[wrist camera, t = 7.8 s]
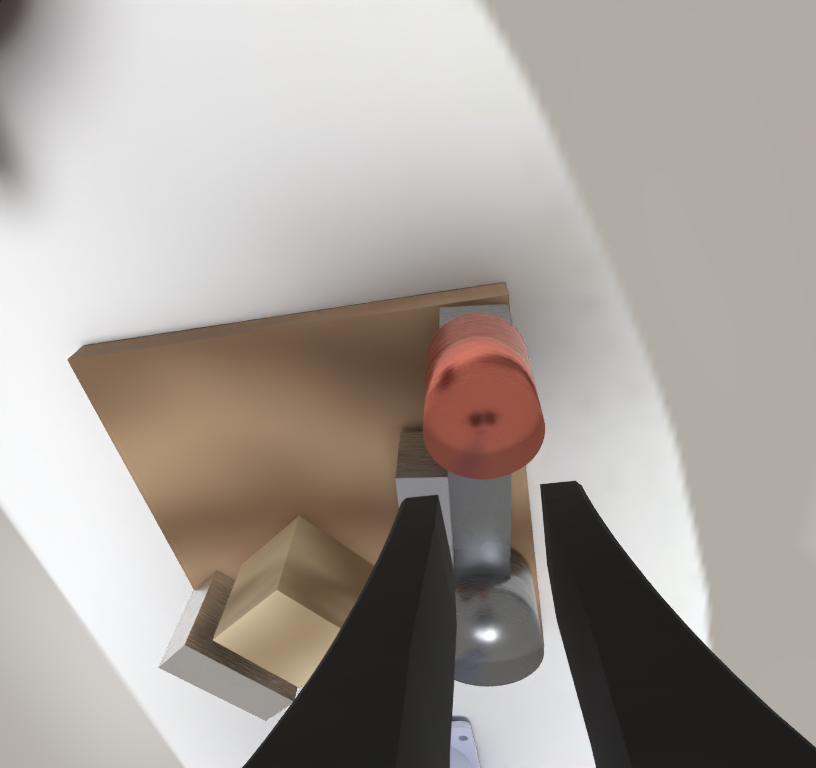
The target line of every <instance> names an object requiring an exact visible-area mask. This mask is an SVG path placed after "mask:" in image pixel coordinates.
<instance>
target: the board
mask: <svg viewBox="0 0 816 768" xmlns="http://www.w3.org/2000/svg"><path fill="white" fill-rule="evenodd" d="M494 304H508V307H509V298H508V292H507V288H506V284H505V282H504V283H498V284H491V285H484V286H478V287H471V288H464V289H458V290H451V291H444V292H438V293H431V294H424V295H418V296H411V297H404V298H398V299H391V300H384V301H378V302H371V303H364V304H358V305H351V306H344V307H338V308H331V309H325V310H318V311H311V312H305V313H298V314H291V315H285V316H278V317H271V318H265V319H258V320H251V321H245V322H238V323H231V324H225V325H218V326H211V327H205V328H198V329H191V330H185V331H178V332H172V333H165V334H158V335H152V336H145V337H138V338H132V339H125V340H118V341H112V342H105V343H98V344H92V345H85V346H83V347H81V348H80V349H79V350H78V351H77V352H76V353H74V354H73V355H72V356H71V357H70V358H69V359H68V362H69V364H70V365H71V367H72V369H73V371H74V373H75V374H76V376H77V378H78V380H79V382H80V383H81V385H82V387H83V389H84V391H85V393H86V394H87V396H88V398H89V400H90V402H91V403H92V405H93V407H94V409H95V411H96V412H97V414H98V416H99V418H100V420H101V422H102V423H103V425H104V427H105V429H106V431H107V432H108V434H109V436H110V438H111V440H112V442H113V443H114V445H115V447H116V449H117V451H118V452H119V454H120V456H121V458H122V460H123V461H124V463H125V465H126V467H127V469H128V471H129V472H130V474H131V476H132V478H133V480H134V481H135V483H136V485H137V487H138V489H139V490H140V492H141V494H142V496H143V498H144V500H145V501H146V503H147V505H148V507H149V509H150V510H151V512H152V514H153V516H154V518H155V520H156V521H157V523H158V525H159V527H160V529H161V530H162V532H163V534H164V536H165V538H166V539H167V541H168V543H169V545H170V547H171V549H172V550H173V552H174V554H175V556H176V558H177V559H178V561H179V563H180V565H181V567H182V568H183V570H184V572H185V574H186V576H187V578H188V579H189V581H190V583H191V585H192V587H193V588H194V590H195V589H196V588H197V587H199V586H200V585H201V584H202V583H203V582H204V581H205V580H206V579H207V578H208V577H209V576H210V575H212V574H213V573H214V572H215V571H216V570H218V571H220V572H221V573H223V574H225V575H227V576H228V577H230V578H232V579H234V580H236V578H237V575H238V572H239V570H240V567H241V565H242V564H243V563H244V562H245V561H246V560H248V559H249V558H250V557H251V556H252V555H253V554H255V553H256V552H257V551H258V550H259V549H261V548H262V547H263V546H264V545H265V544H266V543H268V542H269V541H270V540H271V539H272V538H273V537H275V536H276V535H277V534H278V533H279V532H281V531H282V530H283V529H284V528H285V527H286V526H288V525H289V524H290V523H291V522H292V521H293V520H295V519H296V518H297V517H298V516H301V517H302V518H304V519H305V520H307V521H308V522H310V523H311V524H313V525H314V526H316V527H317V528H319V529H320V530H322V531H323V532H325V533H326V534H328V535H329V536H331V537H332V538H334V539H335V540H337V541H338V542H340V543H341V544H343V545H344V546H346V547H347V548H349V549H350V550H352V551H353V552H355V553H356V554H358V555H359V556H361V557H362V558H364V559H365V560H366V561H368V562H369V563H371V564H372V565H374V566H375V564H376V562H377V560H378V557H379V555H380V553H381V551H382V549H383V546H384V544H385V542H386V540H387V538H388V535H389V533H390V531H391V528H392V526H393V523H394V521H395V518H396V516H397V513H398V510H399V505H398V497H397V489H396V481H395V476H396V467H397V458H398V449H399V441H400V432H417V431H423V420H424V403H425V386H426V370H427V354H428V348H429V345H430V342H431V340H432V338H433V336H434V335H435V333H436V332H437V331H438V330H439V320H440V308H441V307H459V306H477V305H494ZM509 312H510V308H509ZM453 550H454V547H453ZM511 552H513V553H515V554H516V555H518V556H519V557H521V558H522V559H523V560H524V561H525V562H526V563H527V565H528V566H529V568H530V570H531V573H532V578H533V585H534V591H535V597H536V604H537V610H538V616H539V623H540V629H541V635H542V642H543V647H544V640H543V631H542V621H541V611H540V601H539V591H538V582H537V572H536V562H535V552H534V543H533V533H532V523H531V513H530V504H529V494H528V484H527V474H526V465H525V466H524V467H522V468H521V469H519V470H518V471H516V472H514V473H511Z"/></svg>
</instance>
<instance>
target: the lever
mask: <svg viewBox="0 0 816 768" xmlns="http://www.w3.org/2000/svg"><path fill="white" fill-rule="evenodd" d="M544 434H545V423H544V418H543V414H542V410H541V406H540V402H539V398H538V394H537V390H536V386H535V382H534V378H533V374H532V370H531V366H530V362H529V358H528V354H527V350H526V346H525V343H524V340H523V338H522V336H521V334H520V333H519V332H518V330H517V329H516V328H515V327H514V326H513V325H512V321H511V316H510V312H509V307H508V304H494V305H477V306H459V307H441V308H440V320H439V330H438V331H437V332H436V333H435V335H434V336H433V338H432V340H431V342H430V345H429V348H428V354H427V370H426V386H425V403H424V420H423V431H417V432H400V441H399V449H398V458H397V467H396V476H395V481H396V489H397V497H398V505H399V507H400V505H401V503H402V501H403V500H404V499H405V498H409V497H419V496H429V495H438V496H439V500H440V505H441V510H442V515H443V520H444V524H445V529H446V534H447V539H448V544H449V549H450V553H451V558H452V563H453V568H454V577H455V596H456V617H457V633H456V653H455V672H454V680H456V681H459V682H462V683H465V684H470V685H475V686H501V685H506V684H510V683H514V682H517V681H519V680H522V679H524V678H526V677H527V676H529V675H530V674H532V673H533V672H534V671H535V670H536V669H537V668H538V667H539V665H540V664H541V662H542V660H543V656H544V648H543V642H542V635H541V629H540V623H539V616H538V610H537V604H536V597H535V591H534V585H533V578H532V573H531V570H530V568H529V566H528V565H527V563H526V562H525V561H524V560H523V559H522V558H521V557H519V556H518V555H516V554H515V553H513V552H511V473H514V472H516V471H518V470H519V469H521V468H522V467H524V466H525V465H527V464H528V463H529V462H530V461H531V460H532V459H533V458H534V457H535V455H536V454H537V453H538V451H539V449H540V447H541V445H542V443H543V439H544ZM453 547H454V550H453Z"/></svg>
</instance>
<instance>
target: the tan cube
mask: <svg viewBox="0 0 816 768" xmlns="http://www.w3.org/2000/svg"><path fill="white" fill-rule="evenodd" d="M373 568H374V565H372V564H371V563H369V562H368V561H366V560H365V559H364V558H362V557H361V556H359V555H358V554H356V553H355V552H353V551H352V550H350V549H349V548H347V547H346V546H344V545H343V544H341V543H340V542H338V541H337V540H335V539H334V538H332V537H331V536H329V535H328V534H326V533H325V532H323V531H322V530H320V529H319V528H317V527H316V526H314V525H313V524H311V523H310V522H308V521H307V520H305V519H304V518H302V517H301V516H298V517H297V518H296V519H295V520H293V521H292V522H291V523H290V524H289V525H288V526H286V527H285V528H284V529H283V530H282V531H281V532H279V533H278V534H277V535H276V536H275V537H273V538H272V539H271V540H270V541H269V542H268V543H266V544H265V545H264V546H263V547H262V548H261V549H259V550H258V551H257V552H256V553H255V554H253V555H252V556H251V557H250V558H249V559H248V560H246V561H245V562H244V563H243V564H242V565H241V567H240V570H239V572H238V575H237V578H236V580H235V583H234V585H233V588H232V591H231V593H230V596H229V598H228V601H227V604H226V606H225V609H224V611H223V614H222V617H221V619H220V622H219V624H218V627H217V630H216V632H215V635H214V637H213V641H215V642H217V643H219V644H220V645H222V646H224V647H226V648H228V649H230V650H231V651H233V652H235V653H237V654H239V655H240V656H242V657H244V658H246V659H248V660H249V661H251V662H253V663H255V664H257V665H259V666H260V667H262V668H264V669H266V670H268V671H269V672H271V673H273V674H275V675H277V676H279V677H280V678H282V679H284V680H286V681H288V682H289V683H291V684H293V685H295V686H297V687H299V688H300V687H302V686H303V685H305V684H306V683H307V681H308V680H309V678H310V677H311V675H312V674H313V672H314V671H315V669H316V668H317V666H318V665H319V663H320V662H321V660H322V659H323V657H324V655H325V654H326V652H327V651H328V649H329V647H330V646H331V644H332V643H333V641H334V639H335V638H336V636H337V634H338V632H339V631H340V629H341V627H342V625H343V624H344V622H345V620H346V618H347V617H348V615H349V613H350V611H351V610H352V608H353V606H354V604H355V603H356V601H357V599H358V597H359V595H360V593H361V592H362V590H363V588H364V586H365V584H366V582H367V580H368V578H369V576H370V574H371V572H372V570H373Z"/></svg>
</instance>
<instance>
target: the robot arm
mask: <svg viewBox="0 0 816 768" xmlns="http://www.w3.org/2000/svg"><path fill="white" fill-rule="evenodd" d="M540 488H541V499H542V511H543V522H544V533H545V545H546V556H547V566H548V572H549V578H550V584H551V590H552V595H553V601H554V607H555V613H556V618H557V622H558V626H559V630H560V633H561V637H562V641H563V644H564V648H565V652H566V656H567V659H568V663H569V667H570V670H571V674H572V678H573V681H574V685H575V689H576V692H577V696H578V699H579V703H580V707H581V710H582V714H583V718H584V721H585V725H586V729H587V732H588V736H589V740H590V743H591V747H592V751H593V756H594V760H595V764H596V768H816V747H815V746H813V745H812V744H811V743H810V742H809V741H808V740H806V739H805V738H804V737H803V736H802V735H801V734H800V733H798V732H797V731H796V730H795V729H794V728H793V727H791V726H790V725H789V724H788V723H787V722H786V721H785V720H783V719H782V718H781V717H780V716H779V715H777V714H776V713H775V712H774V711H773V710H772V709H771V708H770V707H769V706H768V705H767V704H766V703H764V702H763V701H762V700H761V699H760V698H759V697H758V696H757V695H756V694H755V693H754V692H753V691H752V690H751V689H750V688H749V687H747V686H746V685H745V684H744V683H743V682H742V681H741V680H740V679H739V678H738V677H737V676H736V675H735V674H734V673H733V672H732V671H731V670H730V669H729V668H728V667H727V666H726V665H725V664H724V663H723V662H722V661H721V660H720V659H719V658H718V657H717V656H716V655H715V654H714V653H713V652H712V651H711V650H710V649H709V648H708V647H707V646H706V645H705V644H704V643H703V642H702V641H701V640H700V639H699V638H698V637H697V636H696V634H695V633H694V632H693V631H692V630H691V629H690V628H689V627H688V626H687V625H686V624H685V623H684V621H683V620H682V619H681V618H680V617H679V616H678V615H677V614H676V612H675V611H674V610H673V609H672V608H671V607H670V606H669V605H668V603H667V602H666V601H665V600H664V599H663V598H662V597H661V595H660V594H659V593H658V592H657V591H656V589H655V588H654V587H653V586H652V585H651V583H650V582H649V581H648V580H647V579H646V577H645V576H644V575H643V574H642V572H641V571H640V570H639V569H638V567H637V566H636V565H635V563H634V562H633V561H632V560H631V558H630V557H629V556H628V555H627V553H626V552H625V551H624V549H623V548H622V547H621V545H620V544H619V543H618V541H617V540H616V539H615V537H614V536H613V534H612V533H611V532H610V530H609V529H608V527H607V526H606V524H605V523H604V522H603V520H602V519H601V517H600V516H599V514H598V513H597V511H596V509H595V508H594V506H593V505H592V503H591V501H590V500H589V498H588V496H587V495H586V493H585V491H584V489H583V487H582V485H580V484H579V483H577V482H576V481H569V482H559V483H549V484H540ZM456 633H457V617H456V596H455V577H454V568H453V563H452V558H451V553H450V549H449V544H448V539H447V534H446V529H445V524H444V520H443V515H442V510H441V505H440V500H439V496H438V495H429V496H419V497H409V498H405V499H404V500H403V501H402V503H401V505H400V507H399V510H398V513H397V516H396V518H395V521H394V523H393V526H392V528H391V531H390V533H389V535H388V538H387V540H386V542H385V544H384V546H383V549H382V551H381V553H380V555H379V557H378V560H377V562H376V564H375V566H374V568H373V570H372V572H371V574H370V576H369V578H368V580H367V582H366V584H365V586H364V588H363V590H362V592H361V593H360V595H359V597H358V599H357V601H356V603H355V604H354V606H353V608H352V610H351V611H350V613H349V615H348V617H347V618H346V620H345V622H344V624H343V625H342V627H341V629H340V631H339V632H338V634H337V636H336V638H335V639H334V641H333V643H332V644H331V646H330V647H329V649H328V651H327V652H326V654H325V655H324V657H323V659H322V660H321V662H320V663H319V665H318V666H317V668H316V669H315V671H314V672H313V674H312V675H311V677H310V678H309V680H308V681H307V683H306V684H305V686H304V687H303V689H302V690H301V691H300V693H299V694H298V696H297V697H296V699H295V700H294V701H293V703H292V704H291V705H290V707H289V708H288V709H287V711H286V712H285V713H284V715H283V716H282V717H281V719H280V720H279V722H278V723H277V724H276V726H275V727H274V728H273V730H272V731H271V732H270V734H269V735H268V736H267V738H266V739H265V740H264V741H263V743H262V744H261V745H260V746H259V748H258V749H257V750H256V752H255V753H254V754H253V755H252V757H251V758H250V759H249V760H248V761H247V763H246V764H245V765H244V766H243V767H242V768H480V763H479V759H478V755H477V750H476V746H475V742H474V737H473V733H472V729H471V725H470V724H469V723H467V722H465V721H452V708H453V690H454V672H455V653H456Z"/></svg>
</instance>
